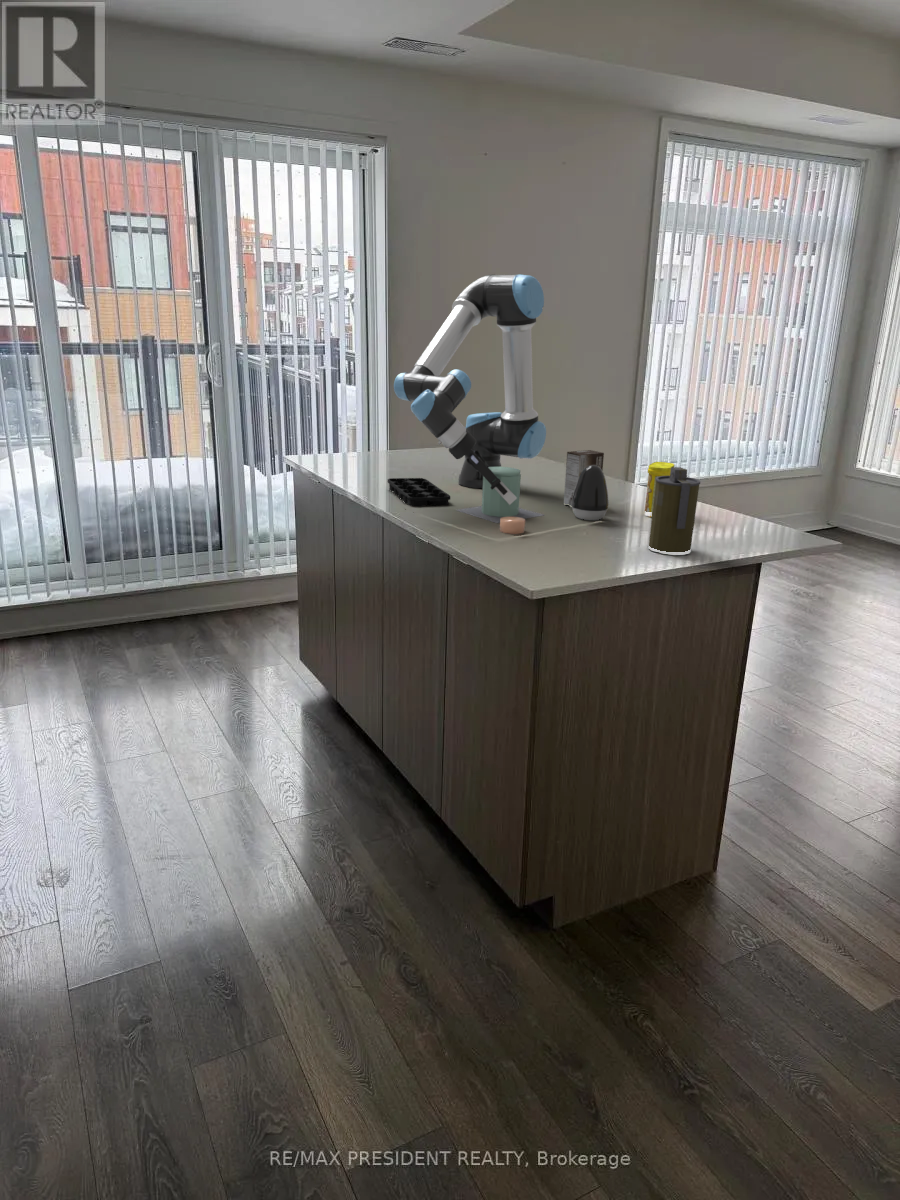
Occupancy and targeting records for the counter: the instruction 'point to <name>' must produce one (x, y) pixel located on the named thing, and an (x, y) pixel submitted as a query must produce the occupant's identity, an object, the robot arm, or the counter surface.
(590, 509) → the black egg-shaped device
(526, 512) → the mat
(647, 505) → the canister
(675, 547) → the canister
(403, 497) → the egg carton
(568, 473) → the coffee box
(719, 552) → the counter surface
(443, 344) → the robot arm
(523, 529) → the pink rounded puck
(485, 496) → the faceted lidded jar
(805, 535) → the counter surface
